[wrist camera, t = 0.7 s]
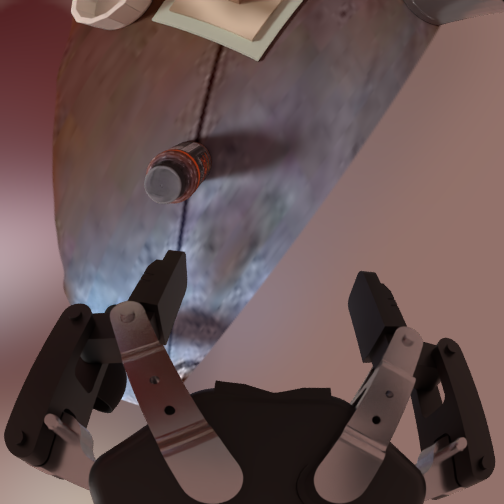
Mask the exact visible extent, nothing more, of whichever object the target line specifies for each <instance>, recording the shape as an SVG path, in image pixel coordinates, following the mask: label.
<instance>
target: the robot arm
mask: <svg viewBox="0 0 504 504" xmlns="http://www.w3.org/2000/svg"><path fill="white" fill-rule="evenodd" d="M403 1H404V2H405V4H406V5H407V6H408V7H409V9H410V10H411V11H412V12H413V13H414V14H415V15H417V16H418V17H419V18H421V19H422V20H424V21H426V22H428V23H430V24H434V25H442V24H446V23H450V22H454V21H459V20H463V19H467V18H472V17H477V16H482V15H488V14H494V13H501V12H504V0H403ZM186 288H187V268H186V254H185V252H182V251H173V250H168V252H167V253H166V255H165V257H164V258H163V260H155V261H154V262H153V263H151V264H150V265H149V266H148V267H147V269H146V271H145V272H144V274H143V276H142V277H141V280H139V282H138V284H137V286H136V287H135V289H134V291H133V292H132V294H131V296H130V297H129V299H128V301H125V302H122V303H119V304H117V305H116V306H115V307H114V308H113V309H112V310H111V312H110V313H96V314H92V312H91V309H90V308H89V307H88V306H87V305H85V304H74V305H71V306H69V307H68V308H67V309H65V311H64V312H63V313H62V315H61V316H60V318H59V320H58V321H57V323H56V325H55V326H54V328H53V330H52V331H51V333H50V335H49V337H48V338H47V340H46V342H45V344H44V345H43V347H42V349H41V351H40V353H39V355H38V356H37V358H36V360H35V362H34V364H33V366H32V368H31V370H30V372H29V374H28V376H27V378H26V380H25V382H24V385H23V387H22V389H21V391H20V393H19V396H18V398H17V400H16V403H15V405H14V408H13V410H12V413H11V415H10V418H9V420H8V423H7V426H6V429H5V433H4V439H5V443H6V446H7V448H8V449H9V451H10V452H11V453H12V454H13V455H15V456H16V457H18V458H20V459H21V460H23V461H25V462H26V463H27V464H29V465H30V466H32V467H34V468H36V469H38V470H40V471H42V472H44V473H46V474H49V475H52V476H54V477H57V478H59V479H65V480H67V481H69V482H71V483H73V484H76V485H78V486H80V487H83V488H85V489H87V490H90V493H91V496H92V499H93V502H94V504H423V503H424V501H426V500H429V499H432V500H437V499H440V498H443V497H446V496H449V495H451V494H454V493H456V492H459V491H461V490H463V489H466V488H468V487H470V486H472V485H475V484H477V483H479V482H481V481H483V480H485V479H487V478H488V477H489V476H490V475H491V474H492V472H493V470H494V467H495V456H494V451H493V446H492V441H491V437H490V434H489V429H488V425H487V422H486V418H485V414H484V411H483V408H482V404H481V401H480V398H479V395H478V392H477V389H476V387H475V384H474V381H473V378H472V376H471V373H470V370H469V368H468V366H467V363H466V360H465V358H464V356H463V353H462V351H461V349H460V347H459V345H458V344H457V343H456V342H455V341H453V340H452V339H449V338H443V339H441V340H440V341H439V342H438V344H437V345H433V344H429V343H425V342H423V340H422V338H421V336H420V334H419V333H418V332H416V331H415V330H414V329H412V328H410V327H407V325H406V323H405V321H404V319H403V316H402V314H401V312H400V310H399V308H398V306H397V303H396V302H395V300H394V297H393V295H392V293H391V291H390V290H389V289H388V288H387V287H386V286H385V285H384V284H381V283H380V281H379V279H378V277H377V275H376V273H374V272H365V271H360V272H359V273H358V275H357V277H356V280H355V283H354V285H353V288H352V291H351V293H350V296H349V300H348V308H349V312H350V316H351V319H352V323H353V326H354V330H355V334H356V338H357V341H358V345H359V349H360V353H361V357H362V361H363V363H370V362H372V364H373V367H372V368H371V370H370V371H369V373H368V375H367V377H366V378H365V380H364V382H363V384H362V385H361V387H360V389H359V390H358V392H357V393H356V395H355V397H354V398H353V400H352V401H351V403H348V402H346V401H344V400H342V399H340V398H337V397H333V396H331V389H330V388H300V389H295V390H290V391H285V392H279V393H272V392H269V391H265V390H262V389H259V388H255V387H252V386H249V385H246V384H238V383H230V382H222V381H216V383H215V388H211V389H205V390H201V391H198V392H195V393H192V394H189V392H188V390H187V389H186V387H185V385H184V383H183V382H182V380H181V378H180V376H179V374H178V373H177V371H176V369H175V367H174V365H173V363H172V361H171V359H170V357H169V356H168V354H167V352H166V350H165V348H164V346H163V345H166V344H167V341H168V338H169V335H170V333H171V330H172V327H173V324H174V321H175V319H176V316H177V313H178V311H179V308H180V305H181V303H182V300H183V297H184V295H185V292H186ZM109 363H123V365H124V368H125V370H126V373H127V376H128V379H129V381H130V384H131V386H132V389H133V391H134V394H135V396H136V399H137V401H138V403H139V406H140V408H141V410H142V412H143V415H144V417H145V419H146V421H147V425H146V426H144V427H143V428H142V429H140V430H139V431H137V432H136V433H134V434H133V435H131V436H130V437H129V438H127V439H126V440H124V441H123V442H121V443H119V444H118V445H116V446H115V447H113V448H112V449H110V450H109V451H107V452H106V453H104V454H103V455H101V456H100V457H99V458H98V459H97V460H96V459H95V457H94V454H93V438H92V436H91V434H90V432H89V431H88V430H87V429H86V428H87V425H88V422H89V419H90V415H91V412H92V409H93V406H94V403H95V400H96V397H97V394H98V391H99V389H100V386H101V383H102V380H103V377H104V375H105V372H106V369H107V367H108V364H109ZM440 382H441V383H442V386H443V390H444V393H445V400H444V402H443V404H442V400H441V397H440V393H439V390H438V386H437V385H438V384H439V383H440ZM410 395H411V399H412V404H413V409H414V413H415V419H416V423H417V429H418V434H419V440H420V448H421V453H420V455H419V457H418V461H417V463H416V464H415V465H414V464H413V463H412V462H411V461H410V460H409V459H408V458H407V457H406V456H405V455H404V454H402V453H401V452H400V451H399V450H398V449H397V448H396V447H395V446H394V445H393V444H392V443H391V442H390V440H391V438H392V436H393V434H394V432H395V430H396V428H397V425H398V423H399V421H400V419H401V416H402V414H403V412H404V410H405V407H406V404H407V402H408V400H409V397H410Z"/></svg>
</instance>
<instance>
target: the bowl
mask: <svg viewBox="0 0 504 504" xmlns="http://www.w3.org/2000/svg"><path fill="white" fill-rule="evenodd" d="M151 3H152V0H73V2H72V9H71V13H72V15H73V16H74V18H75V20H76V21H77V22H79V23H83V24H87V25H90V26H94V27H97V28H102V29H106V30H117V29H121V28H123V27H126V26H128V25H130V24H131V23H133V22H134V21H136V20H137V19H138V18H140V17H141V16H142V15H143V14H144V13H145V11H146V10H147V9H148V8H149V6H150V4H151Z"/></svg>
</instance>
